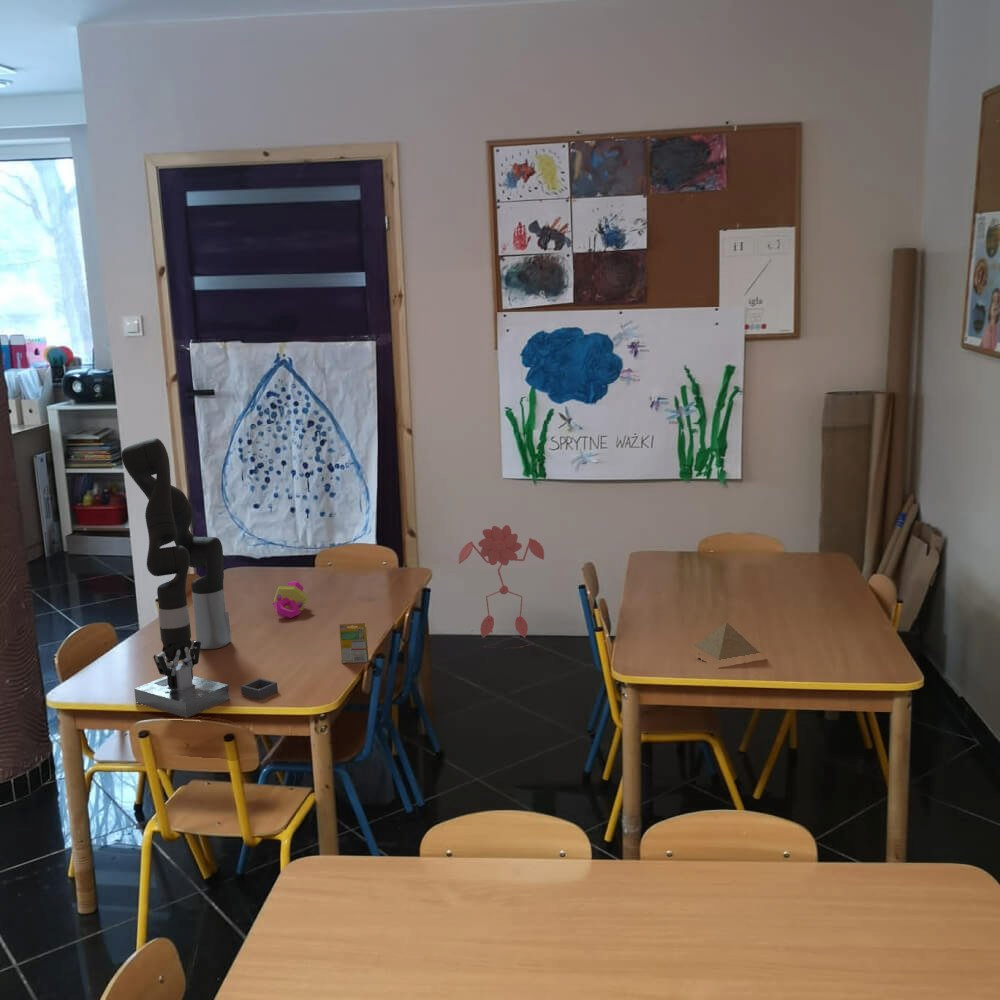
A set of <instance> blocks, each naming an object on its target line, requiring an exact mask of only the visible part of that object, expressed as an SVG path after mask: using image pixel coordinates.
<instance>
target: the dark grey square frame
mask: <svg viewBox="0 0 1000 1000" xmlns="http://www.w3.org/2000/svg"><path fill="white" fill-rule="evenodd" d="M259 688H260V689H259ZM240 690H241V696H243V695H244V696H243V697H247V696H248V697H247V698H251V699H255V700H258V701H260V700H263V699H265V698H267V697H268V696H271V695H273V693H274V694H276V693H278V691H279V689H278V682H276V681H273V680H269V679H268V680H267V679H264V678H257V679H255V680H253V681H250V682H247V683H245V684H243V685H241V687H240ZM275 692H276V693H275Z"/></svg>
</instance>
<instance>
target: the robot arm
mask: <svg viewBox="0 0 1000 1000" xmlns="http://www.w3.org/2000/svg"><path fill="white" fill-rule="evenodd" d="M121 461H122V464H123V467H125V470H126V472H127V473H128V475H129V476H130V478H132V480H133V481H134V483H135V484H136V485H137V486H138V487H139V489H140V491H142V493H143V494H144V495H145V497H146V498H147V500H148V502H147V503H146V504H147V505H146V508H145V513H144V514H145V516H144V517H145V523H146V528H147V533H148V534H147V535H148V551H147V556H146V557H147V558H146V568H147V571H148V572H149V574H151V575H152V576H154V577H163V576H170V575H175V576H174V577H173V579H171V580H168V581H166V582H164V583H162V584H160V585H158V586H157V589H156V590H157V592H156V593H157V604H158V623H159V632H160V633H159V634H160V640H161V643H162V649H161V652H160V653H158V654H154V655H153V661H154V664H155V665H156V669H157V670H158V672H159V675H162V676H164V677H165V676H167V680H168V686H169V687H170V688H171V689H176V688H177V681H176V675H175V672H176V667H177V666H178V664H179V662H180V661H181V664H185V665H189V666H191V673H192V680H193V676H194V673H193V668H194V666H195V665H199V660H200V653H201V650H214V649H215V650H216V649H219V648H223V647H226V646H227V645H229V643H230V642H232V638H231V637H232V635H231V625H230V614H229V611H228V610H226V600H225V590H224V589H225V588H224V577H225V573H224V551H223V544H222V541H221V540H220V539H219V538H218V537H215V536H196V535H194V534H193V533H192V532H191V530H190V527H191V525H192V522H193V519H194V509H193V506H192V505H191V503H190V501H189V500H188V497H187V496H186V495H185V493H184V492H183V490H181V489H179V488H178V487H176V486H174V485H172V483H171V482H172V481H171V465H170V464H171V463H170V458H169V454H168V451H167V448H166V446H165V444H164V443H163V442H162V440H161V439H159V438H155V437H154V438H149V439H147V440H144V441H140V442H138V443H134V444H131V445H128V446H127V447H125V448H124V449H122V451H121ZM153 475H154V476H155V475H156V477H154V476H153ZM172 542H173V543H174V544H175V546H174V545H173V546H166V547H163V546H165V545H168V544H170V543H172ZM189 568H193V569H206V574H205V575H203V576H200V577H198V578H195V579H194V580H192V581H191V584H190V587H191V599H192V606H193V607H192V609H193V618H194V628H195V637H196V638H195V639H196V640H191V638H192V632H191V631H192V630H191V629H192V628H191V619H190V611H189V607H188V600H187V599H188V598H187V586H186V585H187V577H188V573H189ZM170 670H171V671H170Z"/></svg>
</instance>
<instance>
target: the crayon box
mask: <svg viewBox="0 0 1000 1000" xmlns="http://www.w3.org/2000/svg"><path fill="white" fill-rule="evenodd" d="M365 624H366V623H365V622H362V623H361V622H360V623H359V622H358V623H343V624H341V623H340V624H339V638H340V652H341V663H342V664H343V665H344V664H354V663H355V664H357V663H368V662H369V650H368V637H367V635H368V634H367V626H366V625H365ZM351 626H352V627H351Z"/></svg>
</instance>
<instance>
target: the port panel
mask: <svg viewBox="0 0 1000 1000" xmlns="http://www.w3.org/2000/svg"><path fill="white" fill-rule="evenodd" d="M192 683H193V687H191V688H188V689H186V690H184V691H181V692H178V691H174V690H170V687H169V686H168V680H167V676H165V675H164V676H163V677H160V678H158V679H155V680H153V681H152V680H151V682H148V683H145V684H142V685H140V686H138V687H135V688H134V691H133V692H134V696H135V697H134V698H135V699H134V700H135V703H136V702H138V703H140V704H139V705H141V704H143V705H142V706H144V705H146V706H145V707H148V706H149V707H148V708H152V709H155V710H158V711H162V712H165V713H169V714H172V715H174V716H179V717H182V718H185V719H188V718H191V717H193V716H195V715H198V714H200V713H201V712H204V711H206V710H208V709H211V708H213V707H215V705H216V706H218V705H220V704H223V703H224V701H225V702H226V700H227V701H229V700H230V691H229V685H228V684H226V683H222V682H218V681H215V680H210V679H206V678H202V677H199V676H195V675H193V680H192ZM228 699H229V700H228ZM217 704H218V705H217Z"/></svg>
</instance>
